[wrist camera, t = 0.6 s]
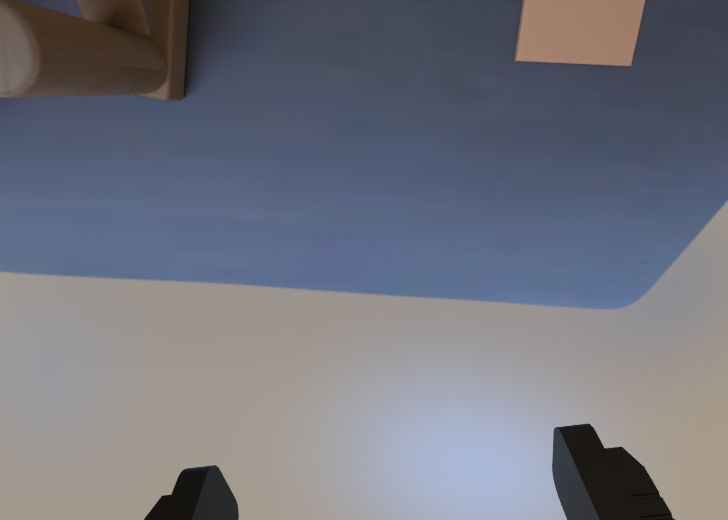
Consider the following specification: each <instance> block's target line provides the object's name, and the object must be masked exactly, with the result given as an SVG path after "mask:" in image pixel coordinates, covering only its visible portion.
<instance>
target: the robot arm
mask: <svg viewBox="0 0 728 520" xmlns="http://www.w3.org/2000/svg"><path fill="white" fill-rule="evenodd" d="M552 470H553V477H554V483H555V487H556V490H557V493H558V497H559V499H560V502H561V505H562V507H563V510H564V512H565V515H566V517H567V520H675V519H673V518H672V515H671V512H670V510H669V508H668V507H667V505H666V503H665V502H664V500H663V498H662V497H660V495H659V491H658V490H657V488H656V486H655V485H654V483H653V481H652V479H651V478H650V476H649V474H648V473H647V471H646V469H645V468H644V466H642V465H641V464H640V463H639V462H638V461H637V460H636V459H635V458H634V457H632V456H631V455H630V454H629V453H628V452H627V451H626V450H625V449H624V448H622V447H615V448H607V449H605V448H604V446H603V445H602V443H601V441H600V439H599V437H598V435H597V433H596V431H595V430H594V428H593V427H592V426H591V425H590V424H581V425H573V426H564V427H556V428H555V429H554V440H553V464H552ZM238 515H239V514H238V505H237V501H236V499H235V497H234V495H233V493H232V492H231V490H230V488H229V486H228V484H227V482H226V480H225V479H224V477H223V475H222V473H221V471H220V469H219V468H218V467H217V466H215V465H214V466H206V467H197V468H188V469H184V470H183V471H182V472H181V473H180V475H179V477H178V479H177V482H176V484H175V487H174V490H173V492H172V495H166V496H162V497H161V498H160V499H159V501H158V502H157V503H156V504H155V506H154V507H153V508H152V510H151V511H150V512H149V514H148V515H147V516H146V517H145V519H144V520H238V517H239V516H238Z"/></svg>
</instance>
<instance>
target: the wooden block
mask: <svg viewBox="0 0 728 520" xmlns="http://www.w3.org/2000/svg"><path fill="white" fill-rule="evenodd" d="M77 2H78V4H79V7H80V9H81V12H82V14H83V16H84V19H82V18H79V17H75V16H71V15H68V14H64V13H61V12H57V11H54V10H50V9H46V8H43V7H39V6H36V5H32V4H29V3H25V2H21V1H18V0H0V98H26V97H60V96H94V95H129V94H132V95H138V96H143V97H148V98H153V99H158V100H163V101H172V100H181V99H183V97H184V83H185V66H186V49H187V32H188V15H189V0H77Z"/></svg>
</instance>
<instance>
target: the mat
mask: <svg viewBox="0 0 728 520" xmlns="http://www.w3.org/2000/svg"><path fill="white" fill-rule="evenodd" d="M644 4H645V0H523V2H522V9H521V16H520V24H519V31H518V38H517V45H516V52H515V60H514V61H525V62H547V63H569V64H591V65H613V66H631V63H632V58H633V54H634V49H635V45H636V40H637V36H638V31H639V27H640V22H641V18H642V13H643V9H644Z"/></svg>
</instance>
